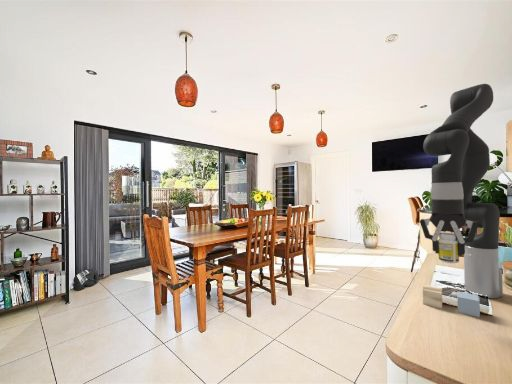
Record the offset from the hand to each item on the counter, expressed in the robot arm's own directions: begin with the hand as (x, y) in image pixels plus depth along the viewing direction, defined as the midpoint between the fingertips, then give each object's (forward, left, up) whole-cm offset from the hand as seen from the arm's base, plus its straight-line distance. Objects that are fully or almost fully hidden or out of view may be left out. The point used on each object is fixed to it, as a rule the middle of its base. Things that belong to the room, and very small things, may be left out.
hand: (448, 253), depth 70 cm
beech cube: (-1, -9, -19) cm, 21 cm away
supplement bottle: (0, 0, -2) cm, 2 cm away
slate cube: (-8, -4, -19) cm, 21 cm away
